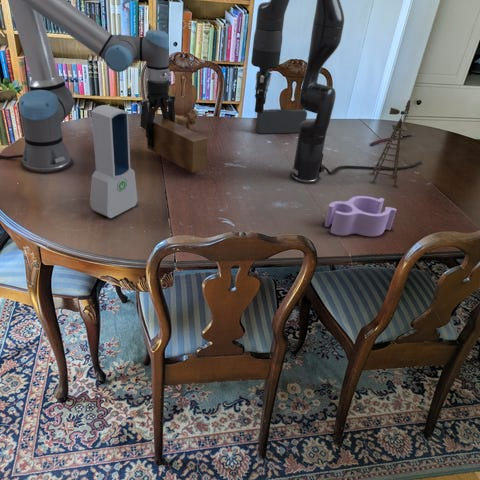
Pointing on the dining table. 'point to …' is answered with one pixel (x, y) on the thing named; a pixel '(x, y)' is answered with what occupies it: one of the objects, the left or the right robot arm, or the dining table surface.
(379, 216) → the clip
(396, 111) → the miniature windmill
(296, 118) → the handheld gaming console
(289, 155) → the dining table surface
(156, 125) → the box
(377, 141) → the sword
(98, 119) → the electronic device
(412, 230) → the dining table surface
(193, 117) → the lion figurine
